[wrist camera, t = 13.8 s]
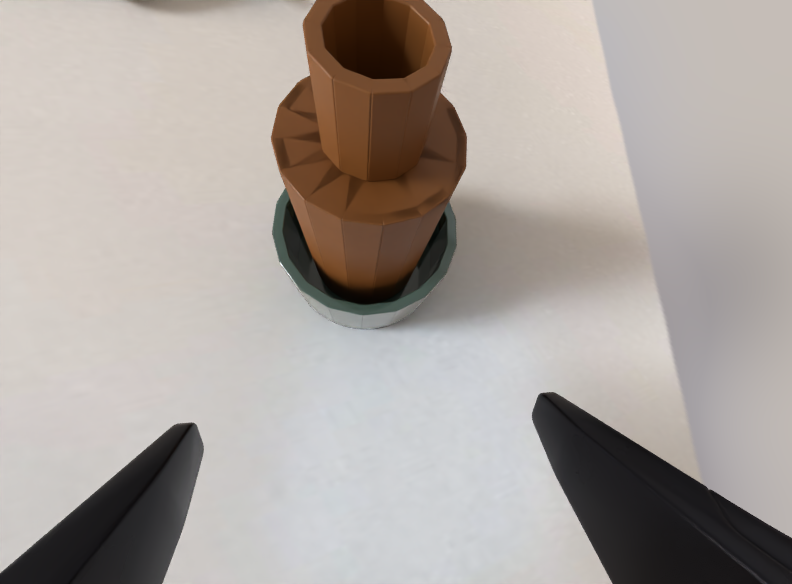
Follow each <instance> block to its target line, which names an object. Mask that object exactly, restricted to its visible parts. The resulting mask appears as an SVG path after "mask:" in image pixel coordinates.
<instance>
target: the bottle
mask: <svg viewBox="0 0 792 584" xmlns="http://www.w3.org/2000/svg"><path fill="white" fill-rule="evenodd" d="M303 31H304V38H305V44H306V51H307V58H308V64H309V70H310V76H308V77H306V78H304V79H302V80H300V82H298V83H297V84H296V85H295V87H294V88H293V89H292V90H291V91H290V93H289V94H288V95H287V96H286V97H285V99H284V100H283V101H282V102H281V103H280V105H279V107H278V109H277V114H276V118H275V123H274V127H273V131H272V136H271V142H272V145H273V149H274V153H275V157H276V160H277V164H278V168H279V171H280V174H281V177H282V179H283V182H284V185H285V187H286V190H287V192H288V195H289V198H290V200H291V203H292V205H293V208H294V211H295V213H296V216H297V218H298V221H299V224H300V226H301V229H302V232H303V234H304V237H305V239H306V242H307V245H308V247H309V250H310V252H311V255H312V258H313V260H314V263H315V265H316V268H317V271H318V273H319V275H320V277H321V278H322V280H323V281H324V283H325V284H326V286H327V287H328V288H329V289H330V290H331V291H332V292H334V293H335V294H336V295H338V296H339V297H341V298H343V299H345V300H348V301H351V302H354V303H360V304H372V303H378V302H382V301H384V300H387V299H389V298H391V297H393V296H394V295H396V294H397V293H398V292H399V291H400V290H402V289H403V287H404V286H405V285H406V284H407V282H408V281H409V279H410V277H411V275H412V273H413V271H414V269H415V267H416V265H417V263H418V261H419V259H420V257H421V255H422V253H423V251H424V250H425V248H426V246H427V244H428V242H429V240H430V238H431V236H432V234H433V232H434V230H435V228H436V226H437V224H438V222H439V220H440V218H441V216H442V214H443V212H444V210H445V208H446V206H447V204H448V202H449V200H450V198H451V196H452V194H453V192H454V190H455V188H456V186H457V184H458V182H459V180H460V178H461V176H462V174H463V173H464V171H465V169H466V150H467V136H466V133H465V130H464V128H463V126H462V123H461V121H460V119H459V117H458V114H457V112H456V110H455V107H453V105H452V104H451V103H450V102H449V101H448V100H447V99H446V98H445V97H444V96H443V95H442V94H441V93H440V91H441V87H442V84H443V80H444V77H445V73H446V70H447V66H448V63H449V59H450V56H451V52H452V46H451V43H450V39H449V36H448V33H447V29H446V26H445V22H444V21H443V19H442V18H441V17H440V16H439V15H438V14H437V13H436V12H435V11H434V10H433V9H432V8H431V7H430V6H429V5H428V4H427V3H426V2H424V1H423V0H316V2H315V3H314V5H313V7H312V8H311V10H310V11H309V13H308V14H307V16H306V17H305V19H304V21H303Z"/></svg>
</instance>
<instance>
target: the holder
mask: <svg viewBox="0 0 792 584" xmlns="http://www.w3.org/2000/svg"><path fill="white" fill-rule="evenodd" d="M272 235H273V239H274V243H275V247H276V251H277V255H278V258H279V262H280V264H281V266H282V267H283V269H284V270H285V271H286V273H287V274H288V276H289V277H290V279H291V280H292V282H293V283H294V285H295V286H296V288H297V289H298V290H299V292H300V293H301V294H302V296H303V297H304V298H305V300H306V301H307V302H308V304H309V305H310V307H312V309H314V310H315V311H317V312H318V313H319V314H320V315H322V316H323V317H325V318H326V319H328V320H330V321H332V322H334V323H336V324H339V325H342V326H345V327H350V328H355V329H376V328H381V327H385V326H388V325H391V324H394V323H396V322H398V321H400V320H402V319H404V318H405V317H407V316H408V315H410V314H412V313H413V312H414V311H415V310H416V309H417V308H418V307H419V305H420V304H421V303H422V302H423V301H424V300H425V299H426V298H427V297H428V295H429V294H430V293H431V292H432V291H433V289H434V288H435V287H436V286H437V285H438V283H439V282H440V281H441V280H442V279H443V277H444V276H445V275H446V273H447V271H448V268H449V266H450V263H451V260H452V258H453V255H454V252H455V249H456V219H455V215H454V213H453V210H452V208H451V205H450V203H449V202H448V204H447V206H446V208H445V210H444V212H443V214H442V216H441V218H440V220H439V222H438V224H437V226H436V228H435V230H434V232H433V234H432V236H431V238H430V240H429V242H428V244H427V246H426V248H425V250H424V251H423V253H422V255H421V257H420V259H419V261H418V263H417V265H416V267H415V269H414V271H413V273H412V275H411V277H410V279H409V281H408V282H407V284H406V285H405V286H404V287H403V289H402V290H400V291H399V292H398V293H397V294H396V295H394V296H393V297H391V298H389V299H387V300H384V301H382V302H378V303H372V304H360V303H354V302H351V301H348V300H345V299H343V298H341V297H339V296H338V295H336V294H335V293H334V292H332V291H331V290H330V289H329V288H328V287H327V286H326V284H325V283H324V281H323V280H322V278H321V277H320V275H319V273H318V271H317V268H316V265H315V263H314V260H313V258H312V255H311V252H310V250H309V247H308V245H307V242H306V239H305V237H304V234H303V232H302V229H301V226H300V224H299V221H298V218H297V216H296V213H295V211H294V208H293V205H292V203H291V200H290V198H289V195H288V192H287V190H286V188H285V190H284V191H283V193H282V195H281V196H280V198H279V200H278V201H277V204H276V209H275V216H274V223H273V229H272Z"/></svg>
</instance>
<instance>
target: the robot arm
mask: <svg viewBox="0 0 792 584" xmlns="http://www.w3.org/2000/svg"><path fill="white" fill-rule="evenodd" d="M532 420H533V423H534V425H535V428H536V430H537V433H538V435H539V437H540V440H541V442H542V445H543V447H544V449H545V452H546V454H547V457H548V459H549V461H550V464H551V466H552V468H553V471H554V473H555V475H556V477H557V479H558V481H559V483H560V485H561V487H562V489H563V491H564V493H565V495H566V496H567V498H568V500H569V502H570V504H571V506H572V508H573V510H574V512H575V513H576V515H577V517H578V519H579V521H580V523H581V525H582V527H583V529H584V530H585V532H586V534H587V536H588V538H589V540H590V542H591V544H592V546H593V547H594V549H595V551H596V553H597V555H598V557H599V559H600V561H601V563H602V565H603V566H604V568H605V570H606V572H607V574H608V576H609V578H610V580H611V582H612V583H613V584H792V538H791V537H789V536H787V535H785V534H784V533H782V532H780V531H778V530H777V529H775V528H773V527H772V526H770V525H768V524H766V523H765V522H763V521H761V520H760V519H758V518H756V517H755V516H753V515H751V514H750V513H748V512H747V511H745V510H743V509H741V508H740V507H738V506H737V505H735V504H733V503H731V502H730V501H728V500H727V499H725V498H724V497H722V496H721V495H719V494H717V493H716V492H714V491H712V490H708V488H707V487H706V486H704V485H703V484H701V483H700V482H698V481H696V480H695V479H693V478H691V477H690V476H688V475H687V474H685V473H683V472H682V471H680V470H679V469H677V468H675V467H674V466H672V465H671V464H669V463H667V462H666V461H664V460H663V459H661V458H659V457H658V456H656V455H655V454H653V453H651V452H650V451H648V450H647V449H645V448H643V447H642V446H640V445H639V444H637V443H635V442H634V441H632V440H630V439H629V438H627V437H626V436H624V435H622V434H621V433H619V432H618V431H616V430H614V429H613V428H611V427H610V426H608V425H606V424H605V423H603V422H602V421H600V420H598V419H597V418H595V417H594V416H592V415H590V414H589V413H587V412H586V411H584V410H582V409H581V408H579V407H578V406H576V405H574V404H573V403H571V402H569V401H568V400H566V399H565V398H563V397H561V396H560V395H558V394H556V393H554V392H547V393H540V394H539V395H538V397H537V400H536V403H535V406H534V409H533V412H532ZM203 451H204V446H203V442H202V439H201V436H200V433H199V430H198V427H197V425H196V424H195V423H180V424H176V425H174V426H172V427H171V428H170V429H169V430H167V431H166V432H165V433H164V434H163V435H162V436H160V437H159V438H158V439H157V440H156V441H154V442H153V443H152V444H151V445H150V446H149V447H147V448H146V449H145V450H144V451H143V452H142V453H140V454H139V455H138V456H137V457H136V458H135V459H133V460H132V461H131V462H130V463H129V464H128V465H126V466H125V467H124V468H123V469H122V470H121V471H119V472H118V473H117V474H116V475H115V476H114V477H112V478H111V479H110V480H109V481H108V482H106V483H105V484H104V485H103V486H102V487H101V488H99V489H98V490H97V491H96V492H95V493H94V494H92V495H91V496H90V497H89V498H88V499H87V500H85V501H84V502H83V503H82V504H81V505H80V506H78V507H77V508H76V509H75V510H74V511H73V512H71V513H70V514H69V515H68V516H67V517H66V518H64V519H63V520H62V521H61V522H60V523H58V524H57V525H56V526H55V527H54V528H53V529H51V530H50V531H49V532H48V533H47V534H46V535H44V536H43V537H42V538H41V539H40V540H39V541H37V542H36V543H35V544H34V545H33V546H32V547H30V548H29V549H28V550H27V551H26V552H25V553H23V554H22V555H21V556H20V557H19V558H18V559H16V560H15V561H14V562H13V563H12V564H10V565H9V566H8V567H7V568H6V569H5V570H3V571H2V572H1V573H0V584H162V583H163V580H164V578H165V575H166V572H167V570H168V567H169V564H170V562H171V559H172V556H173V554H174V551H175V548H176V546H177V543H178V540H179V538H180V535H181V532H182V529H183V526H184V523H185V520H186V516H187V513H188V509H189V505H190V502H191V498H192V494H193V490H194V487H195V483H196V479H197V476H198V472H199V468H200V464H201V461H202V457H203Z"/></svg>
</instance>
